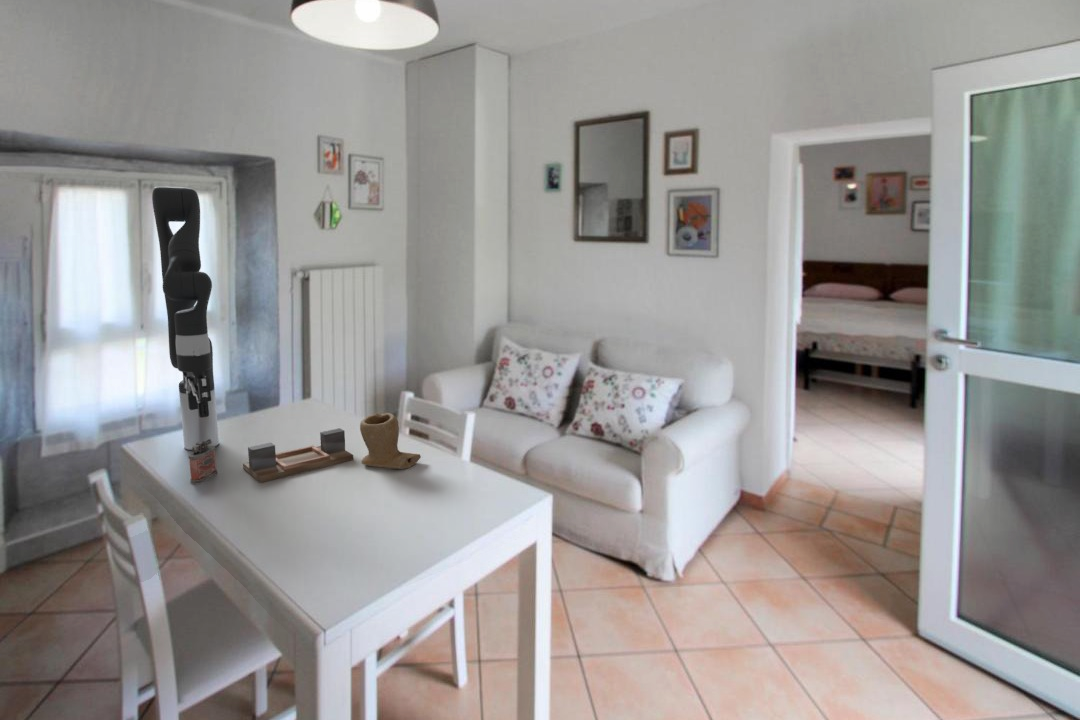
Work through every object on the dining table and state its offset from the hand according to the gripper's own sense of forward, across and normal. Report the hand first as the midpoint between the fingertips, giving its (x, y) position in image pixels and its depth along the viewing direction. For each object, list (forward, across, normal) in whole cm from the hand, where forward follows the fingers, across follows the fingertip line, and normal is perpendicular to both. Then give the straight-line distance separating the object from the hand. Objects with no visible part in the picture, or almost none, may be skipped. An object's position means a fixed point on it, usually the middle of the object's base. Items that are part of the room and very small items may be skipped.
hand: (198, 413), depth 160 cm
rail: (+18, +6, +23) cm, 30 cm away
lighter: (+18, 0, 0) cm, 18 cm away
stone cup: (+18, +23, +41) cm, 50 cm away
